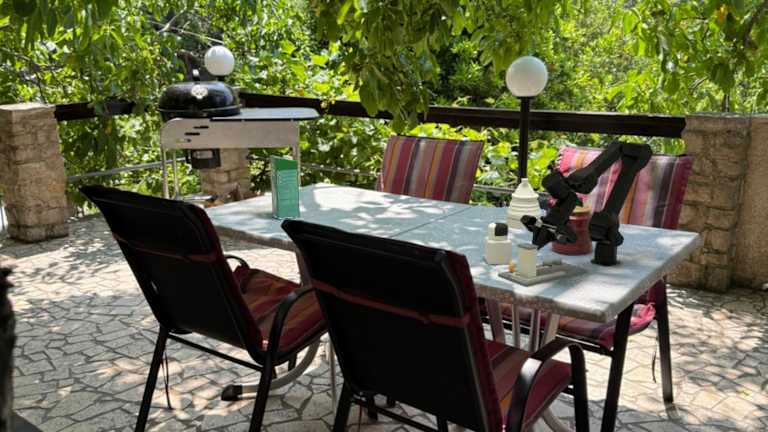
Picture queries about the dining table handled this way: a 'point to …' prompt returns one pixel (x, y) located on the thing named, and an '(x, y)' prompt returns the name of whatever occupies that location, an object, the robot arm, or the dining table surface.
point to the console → (544, 272)
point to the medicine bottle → (498, 244)
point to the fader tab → (527, 260)
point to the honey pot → (523, 205)
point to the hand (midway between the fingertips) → (532, 252)
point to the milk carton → (284, 186)
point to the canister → (580, 226)
